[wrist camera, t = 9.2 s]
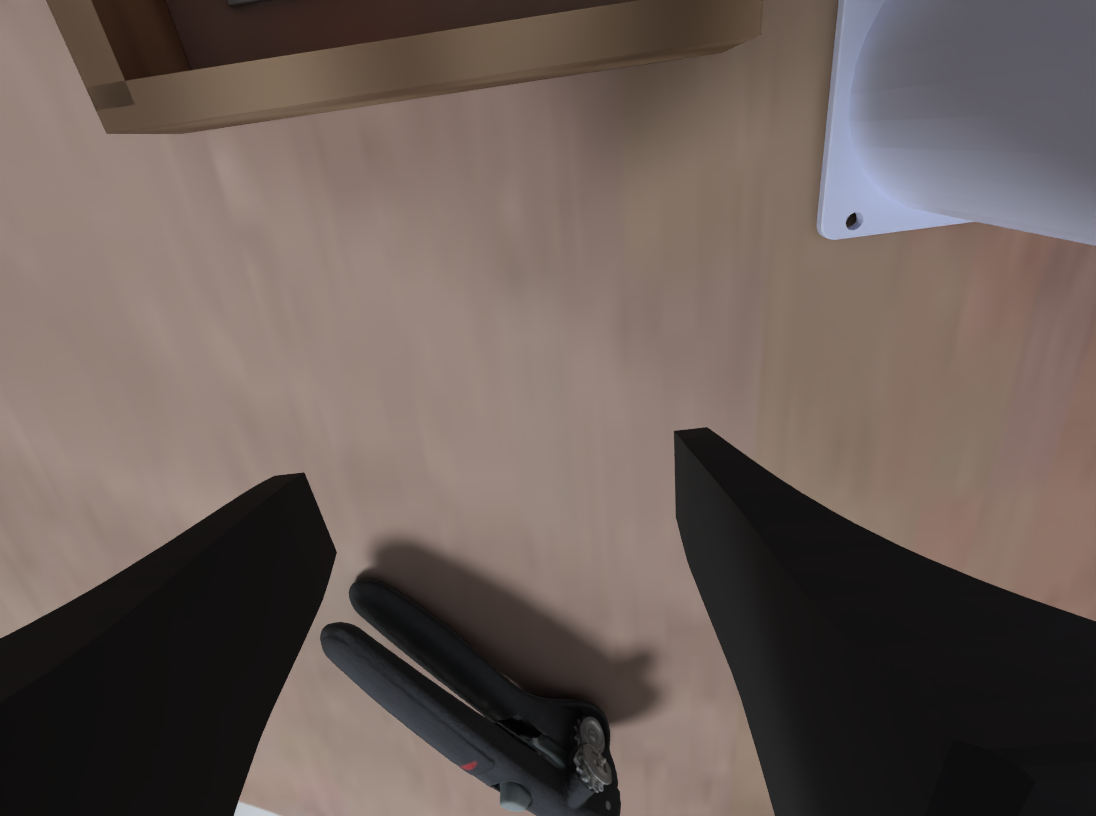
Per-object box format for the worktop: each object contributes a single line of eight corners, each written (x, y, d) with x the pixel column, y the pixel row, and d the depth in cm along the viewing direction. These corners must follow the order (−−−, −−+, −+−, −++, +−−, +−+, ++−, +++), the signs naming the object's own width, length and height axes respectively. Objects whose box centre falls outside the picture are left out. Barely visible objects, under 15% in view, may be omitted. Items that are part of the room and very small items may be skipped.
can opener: (644, 720, 29) (664, 841, 24) (548, 769, 31) (549, 888, 26) (405, 531, 23) (367, 640, 18) (305, 606, 25) (246, 722, 20)
